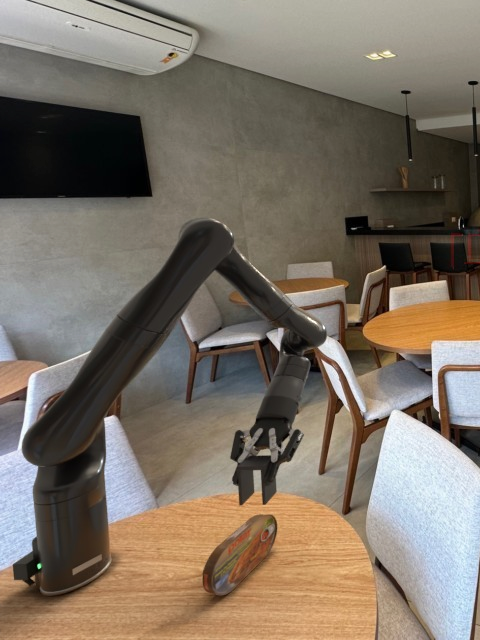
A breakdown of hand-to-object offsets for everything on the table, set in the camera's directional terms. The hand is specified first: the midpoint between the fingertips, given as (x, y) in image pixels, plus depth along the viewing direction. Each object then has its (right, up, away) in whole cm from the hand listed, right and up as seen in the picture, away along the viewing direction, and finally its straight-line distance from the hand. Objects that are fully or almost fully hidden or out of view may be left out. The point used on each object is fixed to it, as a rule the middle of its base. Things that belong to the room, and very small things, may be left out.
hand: (251, 484), depth 81 cm
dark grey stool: (0, -4, +2) cm, 5 cm away
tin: (0, -16, -2) cm, 16 cm away
